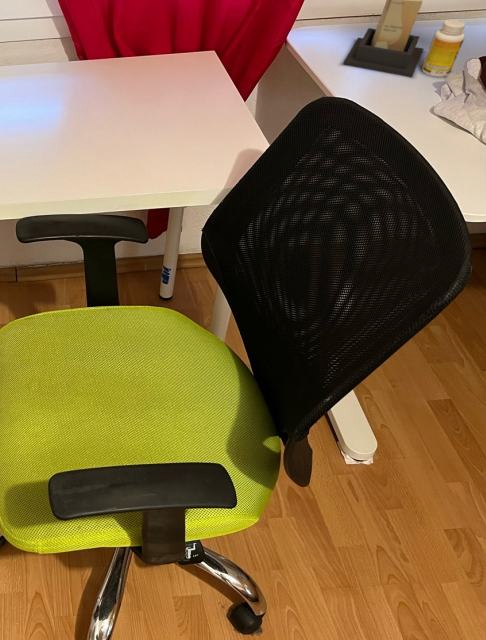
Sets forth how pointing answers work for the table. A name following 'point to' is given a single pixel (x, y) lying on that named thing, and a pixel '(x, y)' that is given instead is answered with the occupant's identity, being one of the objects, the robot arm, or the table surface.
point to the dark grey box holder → (384, 56)
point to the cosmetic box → (396, 24)
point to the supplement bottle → (444, 48)
